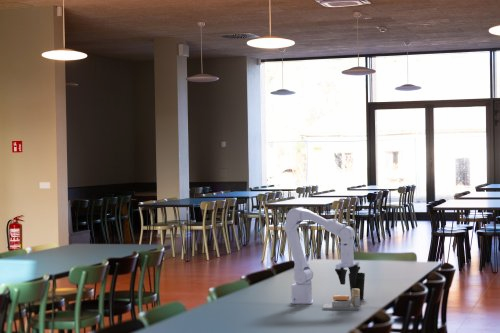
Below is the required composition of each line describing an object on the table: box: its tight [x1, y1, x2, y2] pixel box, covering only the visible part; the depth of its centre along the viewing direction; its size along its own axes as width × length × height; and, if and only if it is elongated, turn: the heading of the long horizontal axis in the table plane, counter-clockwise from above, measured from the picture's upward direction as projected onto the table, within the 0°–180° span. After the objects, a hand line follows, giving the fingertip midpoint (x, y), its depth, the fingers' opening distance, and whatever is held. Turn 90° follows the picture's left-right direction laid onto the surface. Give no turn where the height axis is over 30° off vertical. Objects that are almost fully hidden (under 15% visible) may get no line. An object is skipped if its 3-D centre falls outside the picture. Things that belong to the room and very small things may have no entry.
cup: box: [348, 272, 366, 301], centre depth 372 cm, size 8×8×12 cm
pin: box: [332, 295, 350, 301], centre depth 352 cm, size 7×2×2 cm, turn 80°
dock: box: [322, 296, 361, 311], centre depth 352 cm, size 16×10×5 cm, turn 80°
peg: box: [351, 289, 360, 304], centre depth 359 cm, size 4×4×7 cm
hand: (348, 283), depth 359 cm, fingers open, 7 cm apart
